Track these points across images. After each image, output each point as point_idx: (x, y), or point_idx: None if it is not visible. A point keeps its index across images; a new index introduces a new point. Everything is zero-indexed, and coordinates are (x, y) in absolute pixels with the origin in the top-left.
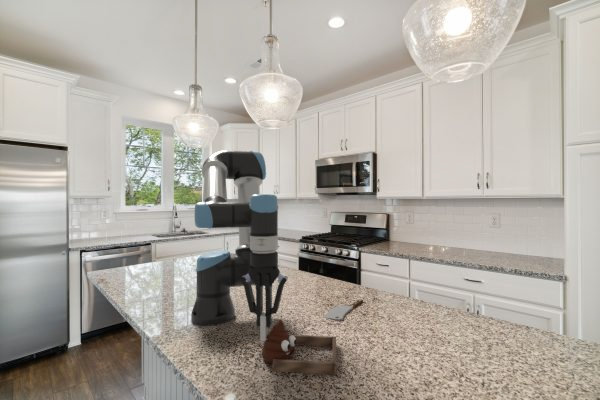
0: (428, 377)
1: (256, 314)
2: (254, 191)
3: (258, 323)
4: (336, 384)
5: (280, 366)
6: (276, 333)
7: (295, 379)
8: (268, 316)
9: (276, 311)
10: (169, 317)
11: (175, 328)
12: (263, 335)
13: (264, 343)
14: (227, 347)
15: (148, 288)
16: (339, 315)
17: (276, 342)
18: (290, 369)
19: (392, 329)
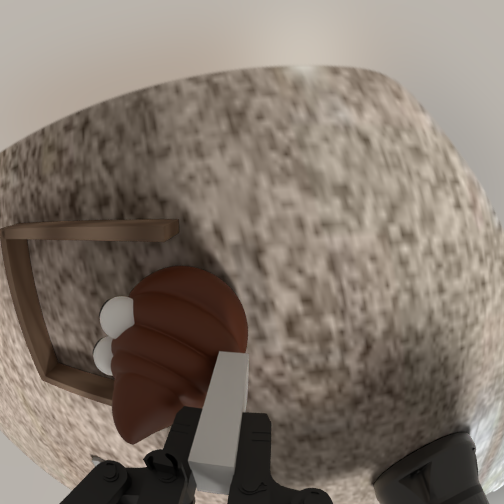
0: None
1: (271, 480)
2: None
3: (257, 429)
4: (17, 181)
5: (141, 222)
6: (145, 366)
7: (96, 179)
8: (154, 451)
9: (95, 468)
10: (500, 428)
11: (500, 401)
12: (227, 370)
13: (226, 343)
14: (393, 363)
15: (500, 471)
16: None
17: (152, 326)
18: (111, 221)
19: (10, 398)
